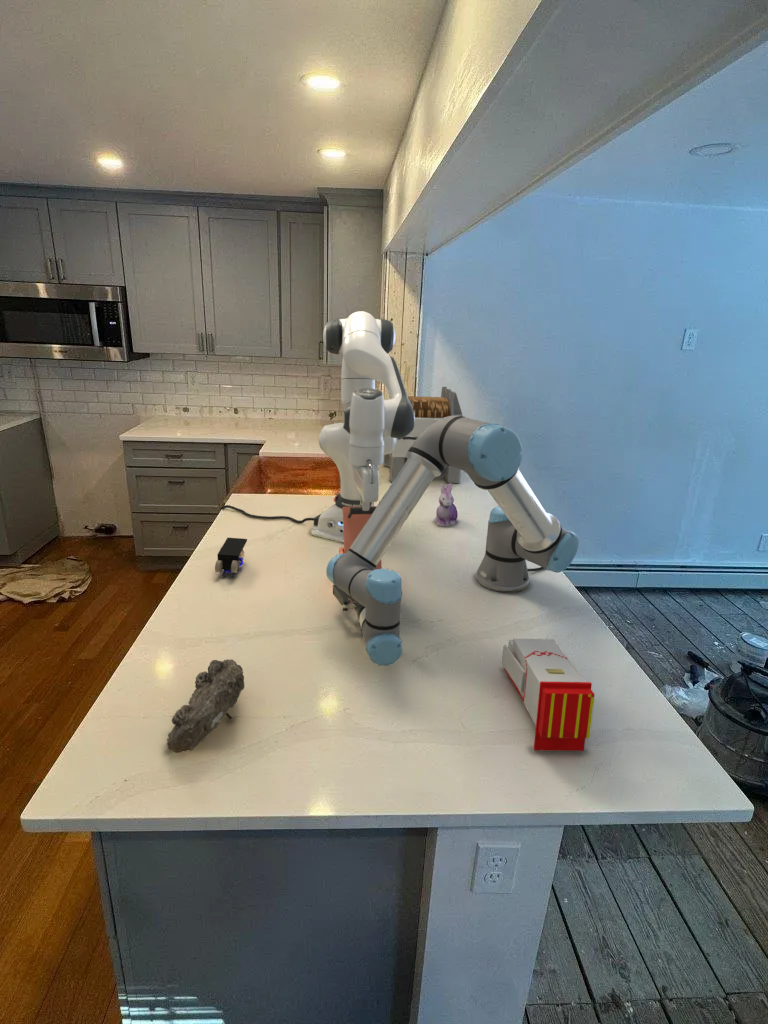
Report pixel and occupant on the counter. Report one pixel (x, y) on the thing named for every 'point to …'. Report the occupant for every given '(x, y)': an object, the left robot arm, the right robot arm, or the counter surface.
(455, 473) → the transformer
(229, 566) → the figurine character
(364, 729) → the counter surface
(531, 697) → the toy
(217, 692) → the fossil
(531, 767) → the counter surface
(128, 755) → the counter surface
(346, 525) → the lid
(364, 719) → the counter surface
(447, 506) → the figurine
